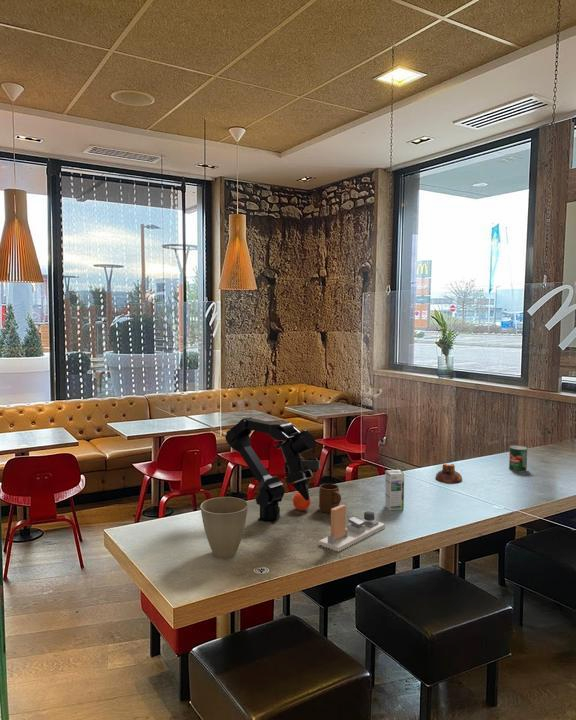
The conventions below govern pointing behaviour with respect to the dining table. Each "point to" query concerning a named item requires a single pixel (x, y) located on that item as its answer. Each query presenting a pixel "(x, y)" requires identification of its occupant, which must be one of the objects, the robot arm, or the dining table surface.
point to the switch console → (352, 535)
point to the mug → (329, 497)
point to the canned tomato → (518, 458)
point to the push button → (369, 516)
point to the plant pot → (224, 524)
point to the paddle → (338, 521)
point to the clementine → (301, 502)
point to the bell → (448, 474)
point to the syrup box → (394, 489)
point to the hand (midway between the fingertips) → (307, 500)
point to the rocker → (356, 522)
